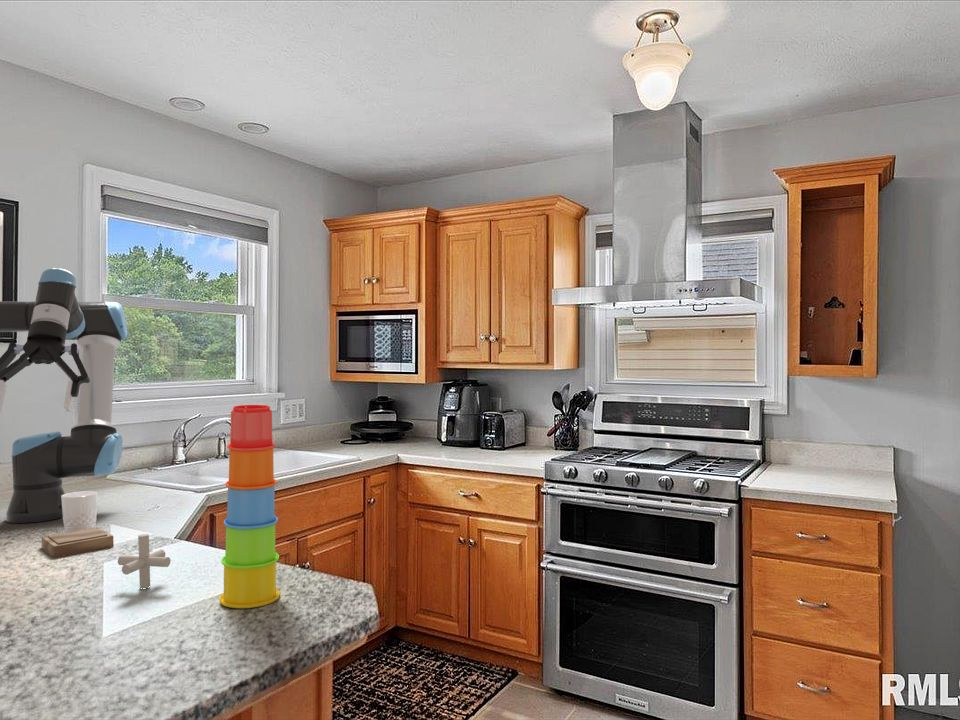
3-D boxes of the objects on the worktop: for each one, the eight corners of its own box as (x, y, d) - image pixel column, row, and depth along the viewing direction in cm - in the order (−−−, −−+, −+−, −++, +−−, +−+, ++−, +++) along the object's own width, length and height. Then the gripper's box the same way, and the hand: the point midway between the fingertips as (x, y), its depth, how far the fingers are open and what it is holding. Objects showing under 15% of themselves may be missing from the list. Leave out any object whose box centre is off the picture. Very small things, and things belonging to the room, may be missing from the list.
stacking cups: (275, 586, 132) (270, 402, 132) (284, 603, 123) (279, 405, 122) (217, 595, 128) (211, 405, 127) (222, 613, 118) (216, 409, 118)
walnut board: (41, 547, 164) (41, 535, 164) (98, 537, 172) (98, 526, 172) (54, 557, 155) (54, 545, 155) (113, 546, 163) (113, 534, 163)
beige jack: (151, 598, 127) (149, 543, 127) (103, 595, 129) (101, 541, 129) (184, 580, 137) (183, 529, 137) (139, 578, 139) (138, 528, 139)
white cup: (64, 532, 178) (63, 492, 178) (99, 528, 181) (98, 489, 181) (60, 539, 171) (59, 498, 171) (97, 535, 174) (95, 494, 174)
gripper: (-19, 317, 158) (-40, 401, 148) (104, 320, 165) (92, 401, 155) (-8, 334, 164) (-28, 416, 154) (110, 337, 171) (98, 416, 161)
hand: (32, 409), depth 154 cm, fingers open, 13 cm apart
